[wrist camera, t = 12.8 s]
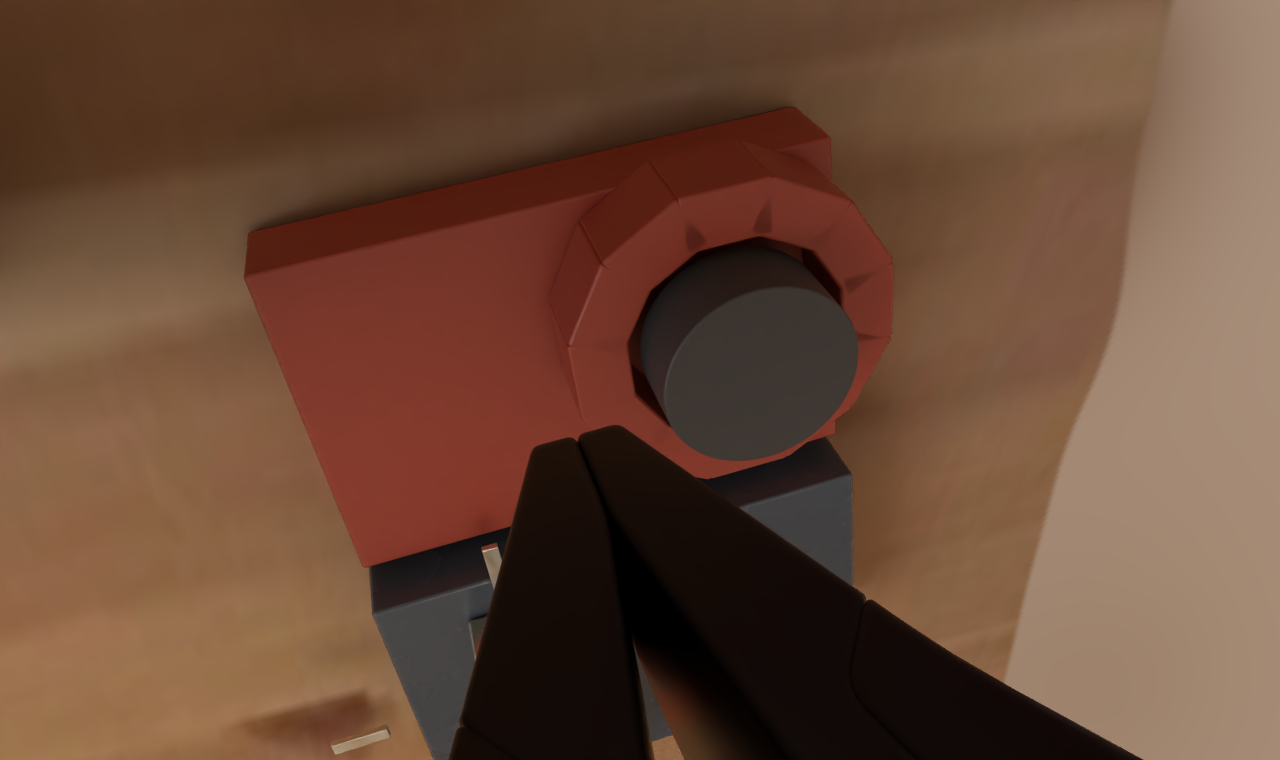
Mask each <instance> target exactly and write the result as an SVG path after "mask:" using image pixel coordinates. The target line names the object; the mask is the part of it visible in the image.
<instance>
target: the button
mask: <svg viewBox="0 0 1280 760" xmlns="http://www.w3.org/2000/svg"><path fill="white" fill-rule="evenodd" d="M858 353H859V352H858V340H857V336H856V332H855V329H854V326H853V324H852V321H851V320H850V318H849V317H848V315H847V313H846V312H845V311H844V310H843V308H842V307H841V306H840V305H839V304H838V303H837V302H836V300H835V299H834V298H833V297H832V296H831V295H830V294H829V293H828V291H827V290H826V289H825V288H824V287H823V286H822V285H821V283H820V282H819V281H818V280H817V279H816V278H815V277H814V276H813V274H812V273H811V272H810V271H809V270H808V269H807V268H806V267H805V266H804V265H803V264H802V263H801V262H799V261H798V260H797V259H796V258H794V257H792V256H790V255H788V254H786V253H784V252H781V251H778V250H776V249H771V248H766V247H757V246H745V247H735V248H730V249H725V250H722V251H719V252H716V253H713V254H710V255H708V256H706V257H704V258H701V259H700V260H698V261H696V262H694V263H693V264H691V265H689V266H688V267H687V268H685V269H684V270H683V271H681V272H680V273H679V274H677V275H676V276H675V277H674V278H673V279H672V280H671V281H670V282H669V283H668V284H667V285H666V286H665V288H664V289H663V290H662V291H661V292H660V294H659V295H658V297H657V298H656V300H655V301H654V303H653V304H652V306H651V308H650V310H649V312H648V314H647V317H646V320H645V322H644V325H643V330H642V334H641V341H640V356H641V363H642V367H643V370H644V373H645V375H646V378H647V380H648V382H649V384H650V386H651V388H652V390H653V392H654V394H655V396H656V398H657V400H658V402H659V404H660V406H661V408H662V410H663V412H664V414H665V416H666V418H667V420H668V422H669V423H670V425H671V427H672V428H673V430H674V432H675V433H676V434H677V436H678V437H679V438H680V439H681V440H682V441H683V442H684V443H685V444H687V445H688V446H689V447H690V448H692V449H694V450H696V451H697V452H699V453H701V454H704V455H706V456H709V457H712V458H716V459H720V460H728V461H748V460H756V459H761V458H765V457H769V456H772V455H775V454H778V453H781V452H783V451H785V450H787V449H790V448H792V447H794V446H795V445H797V444H799V443H801V442H802V441H804V440H805V439H807V438H808V437H810V436H811V435H813V434H814V433H815V432H816V431H817V430H819V429H820V428H821V427H822V426H823V425H824V424H825V423H826V422H827V421H828V420H829V419H830V418H831V417H832V416H833V415H834V413H835V412H836V411H837V410H838V408H839V407H840V405H841V404H842V402H843V401H844V399H845V398H846V396H847V394H848V392H849V390H850V388H851V386H852V383H853V380H854V377H855V374H856V369H857V365H858Z"/></svg>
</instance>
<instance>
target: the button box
mask: <svg viewBox="0 0 1280 760" xmlns="http://www.w3.org/2000/svg"><path fill="white" fill-rule="evenodd" d="M745 246H757V247H766V248H771V249H776V250H778V251H781V252H784V253H786V254H788V255H790V256H792V257H794V258H796V259H797V260H798V261H799V262H801V263H802V264H803V265H804V266H805V267H806V268H807V269H808V270H809V271H810V272H811V273H812V274H813V276H814V277H815V278H816V279H817V280H818V281H819V282H820V283H821V285H822V286H823V287H824V288H825V289H826V290H827V291H828V293H829V294H830V295H831V296H832V297H833V298H834V299H835V300H836V302H837V303H838V304H839V305H840V306H841V307H842V308H843V310H844V311H845V312H846V313H847V315H848V317H849V318H850V320H851V321H852V324H853V326H854V329H855V332H856V336H857V340H858V352H859V353H858V365H857V369H856V374H855V377H854V380H853V383H852V386H851V388H850V390H849V392H848V394H847V396H846V398H845V399H844V401H843V402H842V404H841V405H840V407H839V408H838V410H837V411H836V412H835V413H834V415H833V416H832V417H831V418H830V419H829V420H828V421H827V422H826V423H825V424H824V425H823V426H822V427H821V428H820V429H819V430H817V431H816V432H815V433H814V434H813V435H811V436H810V437H808V438H807V439H805V440H804V441H802V442H801V443H799V444H797V445H795V446H794V447H792V448H790V449H787V450H785V451H783V452H781V453H778V454H775V455H772V456H769V457H765V458H761V459H756V460H748V461H728V460H720V459H716V458H712V457H709V456H706V455H704V454H701V453H699V452H697V451H696V450H694V449H692V448H690V447H689V446H688V445H687V444H685V443H684V442H683V441H682V440H681V439H680V438H679V437H678V436H677V434H676V433H675V432H674V430H673V428H672V427H671V425H670V423H669V422H668V420H667V418H666V416H665V414H664V412H663V410H662V408H661V406H660V404H659V402H658V400H657V398H656V396H655V394H654V392H653V390H652V388H651V386H650V384H649V382H648V380H647V378H646V375H645V373H644V370H643V367H642V363H641V356H640V341H641V334H642V330H643V325H644V322H645V320H646V317H647V314H648V312H649V310H650V308H651V306H652V304H653V303H654V301H655V300H656V298H657V297H658V295H659V294H660V292H661V291H662V290H663V289H664V288H665V286H666V285H667V284H668V283H669V282H670V281H671V280H672V279H673V278H674V277H675V276H676V275H677V274H679V273H680V272H681V271H683V270H684V269H685V268H687V267H688V266H689V265H691V264H693V263H694V262H696V261H698V260H700V259H701V258H704V257H706V256H708V255H710V254H713V253H716V252H719V251H722V250H725V249H730V248H735V247H745ZM893 273H894V264H893V262H892V257H891V256H890V254H889V253H888V251H887V250H886V248H885V247H884V246H883V244H882V243H881V241H880V240H879V238H878V237H877V235H876V234H875V233H874V231H873V230H872V228H871V227H870V225H869V224H868V223H867V221H866V220H865V218H864V217H863V215H862V214H861V212H860V211H859V210H858V208H857V207H856V205H855V204H854V202H853V201H852V200H850V199H849V198H848V197H847V196H846V195H845V194H844V193H843V192H842V191H841V190H840V189H838V188H837V187H836V186H835V185H834V184H833V183H832V182H831V138H830V136H829V135H828V134H826V133H825V132H824V131H823V130H822V129H820V128H819V127H818V126H817V125H816V124H814V123H813V122H812V121H811V120H810V119H808V118H807V117H806V116H805V115H804V114H802V113H801V112H800V111H799V110H798V109H796V108H795V107H789V108H785V109H781V110H776V111H772V112H768V113H763V114H759V115H755V116H751V117H746V118H742V119H738V120H733V121H729V122H725V123H720V124H716V125H712V126H707V127H703V128H699V129H694V130H690V131H686V132H682V133H677V134H673V135H669V136H664V137H660V138H656V139H651V140H647V141H643V142H638V143H634V144H630V145H625V146H621V147H617V148H613V149H608V150H604V151H600V152H595V153H591V154H587V155H582V156H578V157H574V158H569V159H565V160H561V161H556V162H552V163H548V164H543V165H539V166H535V167H531V168H526V169H522V170H518V171H513V172H509V173H505V174H500V175H496V176H492V177H487V178H483V179H479V180H474V181H470V182H466V183H462V184H457V185H453V186H449V187H444V188H440V189H436V190H431V191H427V192H423V193H418V194H414V195H410V196H405V197H401V198H397V199H393V200H388V201H384V202H380V203H375V204H371V205H367V206H362V207H358V208H354V209H349V210H345V211H341V212H336V213H332V214H328V215H323V216H319V217H315V218H311V219H306V220H302V221H298V222H293V223H289V224H285V225H280V226H276V227H272V228H267V229H263V230H259V231H254V232H251V233H249V234H248V242H247V252H246V262H245V272H244V280H245V282H246V285H247V287H248V289H249V292H250V294H251V297H252V299H253V302H254V304H255V306H256V309H257V311H258V314H259V316H260V318H261V321H262V323H263V326H264V328H265V331H266V333H267V335H268V338H269V340H270V343H271V345H272V348H273V350H274V352H275V355H276V357H277V360H278V362H279V365H280V367H281V369H282V372H283V374H284V377H285V379H286V382H287V384H288V386H289V389H290V391H291V394H292V396H293V399H294V401H295V403H296V406H297V408H298V411H299V413H300V416H301V418H302V420H303V423H304V425H305V428H306V430H307V433H308V435H309V437H310V440H311V442H312V445H313V447H314V450H315V452H316V454H317V457H318V459H319V462H320V464H321V467H322V469H323V471H324V474H325V476H326V479H327V481H328V484H329V486H330V488H331V491H332V493H333V496H334V498H335V501H336V503H337V505H338V508H339V510H340V513H341V515H342V518H343V520H344V522H345V525H346V527H347V530H348V532H349V535H350V537H351V539H352V542H353V544H354V547H355V549H356V551H357V554H358V556H359V559H360V561H361V564H362V566H363V567H369V566H373V565H376V564H380V563H383V562H387V561H391V560H394V559H398V558H401V557H405V556H408V555H412V554H415V553H419V552H422V551H426V550H429V549H433V548H436V547H440V546H443V545H447V544H450V543H454V542H457V541H461V540H464V539H468V538H471V537H475V536H478V535H482V534H485V533H489V532H492V531H496V530H499V529H503V528H507V527H510V526H511V525H512V521H513V517H514V513H515V510H516V506H517V502H518V498H519V495H520V491H521V487H522V483H523V480H524V476H525V472H526V468H527V465H528V461H529V457H530V454H531V451H532V450H533V448H534V447H536V446H538V445H541V444H545V443H548V442H552V441H556V440H559V439H563V438H567V437H571V438H574V439H575V440H576V441H577V442H578V437H579V436H580V435H581V434H582V433H585V432H588V431H592V430H596V429H599V428H603V427H607V426H610V425H620V426H623V427H624V428H626V429H627V430H628V431H630V432H631V433H633V434H634V435H636V436H637V437H639V438H640V439H641V440H643V441H644V442H646V443H647V444H649V445H650V446H651V447H653V448H654V449H656V450H657V451H659V452H660V453H662V454H663V455H664V456H666V457H667V458H669V459H670V460H672V461H673V462H674V463H676V464H677V465H679V466H680V467H682V468H683V469H685V470H686V471H687V472H689V473H690V474H692V475H693V476H695V477H698V478H704V479H709V478H715V477H719V476H722V475H726V474H729V473H733V472H736V471H740V470H743V469H747V468H750V467H754V466H757V465H761V464H764V463H768V462H771V461H775V460H778V459H782V458H785V457H786V456H789V455H791V454H792V453H793V452H795V451H796V450H797V449H799V448H800V447H801V446H802V445H804V444H805V443H806V442H809V441H812V440H816V439H819V438H823V437H826V436H830V435H833V434H835V420H836V419H837V418H839V417H840V416H841V415H843V414H844V413H845V412H846V411H848V410H849V409H850V408H851V407H852V406H851V405H853V404H854V403H855V401H856V400H857V398H858V396H859V394H860V392H861V391H862V389H863V387H864V385H865V384H866V382H867V380H868V378H869V377H870V375H871V373H872V371H873V370H874V368H875V366H876V364H877V363H878V361H879V359H880V357H881V356H882V354H883V352H884V350H885V348H886V347H887V345H888V343H889V341H890V340H891V335H892V313H893Z"/></svg>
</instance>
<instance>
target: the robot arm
mask: <svg viewBox="0 0 1280 760" xmlns="http://www.w3.org/2000/svg"><path fill="white" fill-rule="evenodd" d="M634 647H635V649H634ZM635 650H636V653H637V655H638V658H639V661H640V663H641V665H642V668H643V670H644V672H645V675H646V677H647V679H648V682H649V684H650V686H651V688H652V690H653V692H654V695H655V697H656V699H657V701H658V703H659V705H660V708H661V710H662V712H663V714H664V716H665V718H666V720H667V723H668V725H669V727H670V729H671V731H672V733H673V736H674V738H675V740H676V742H677V744H678V746H679V749H680V751H681V753H682V755H683V757H684V759H685V760H1143V759H1141V758H1139V757H1137V756H1135V755H1134V754H1132V753H1130V752H1128V751H1126V750H1124V749H1123V748H1121V747H1119V746H1117V745H1115V744H1113V743H1112V742H1110V741H1108V740H1106V739H1104V738H1102V737H1101V736H1099V735H1097V734H1095V733H1093V732H1091V731H1090V730H1088V729H1086V728H1084V727H1082V726H1080V725H1079V724H1077V723H1075V722H1073V721H1071V720H1069V719H1068V718H1066V717H1064V716H1062V715H1060V714H1059V713H1057V712H1054V711H1053V710H1051V709H1049V708H1048V707H1046V706H1044V705H1042V704H1040V703H1038V702H1036V701H1035V700H1033V699H1031V698H1029V697H1027V696H1025V695H1024V694H1022V693H1020V692H1018V691H1016V690H1015V689H1012V688H1011V687H1009V686H1007V685H1006V684H1004V683H1002V682H1001V681H999V680H997V679H996V678H994V677H992V676H990V675H989V674H987V673H985V672H983V671H982V670H980V669H978V668H977V667H975V666H973V665H971V664H970V663H968V662H966V661H964V660H963V659H961V658H959V657H958V656H956V655H954V654H952V653H951V652H949V651H948V650H946V649H945V648H943V647H942V646H940V645H939V644H937V643H936V642H934V641H933V640H931V639H930V638H928V637H926V636H925V635H923V634H922V633H920V632H919V631H917V630H916V629H914V628H913V627H911V626H910V625H908V624H907V623H905V622H904V621H902V620H901V619H899V618H898V617H896V616H895V615H893V614H892V613H891V612H889V611H888V610H886V609H885V608H883V607H882V606H881V605H879V604H878V603H876V602H875V601H873V600H867V601H866V597H865V595H864V594H863V593H861V592H860V591H858V590H857V589H856V588H854V587H853V586H851V585H850V584H848V583H847V582H846V581H844V580H843V579H841V578H840V577H838V576H837V575H835V574H834V573H833V572H831V571H830V570H828V569H827V568H825V567H824V566H823V565H821V564H820V563H818V562H817V561H815V560H814V559H812V558H811V557H810V556H808V555H807V554H805V553H804V552H802V551H801V550H800V549H798V548H797V547H795V546H794V545H792V544H791V543H789V542H788V541H787V540H785V539H784V538H782V537H781V536H779V535H778V534H777V533H775V532H774V531H772V530H771V529H769V528H768V527H766V526H765V525H764V524H762V523H761V522H759V521H758V520H756V519H755V518H754V517H752V516H751V515H749V514H748V513H746V512H745V511H743V510H742V509H741V508H739V507H738V506H736V505H735V504H733V503H732V502H731V501H729V500H728V499H726V498H725V497H723V496H722V495H720V494H719V493H718V492H716V491H715V490H713V489H712V488H710V487H709V486H708V485H706V484H705V483H703V482H702V481H700V480H699V479H697V478H696V477H695V476H693V475H692V474H690V473H689V472H687V471H686V470H685V469H683V468H682V467H680V466H679V465H677V464H676V463H674V462H673V461H672V460H670V459H669V458H667V457H666V456H664V455H663V454H662V453H660V452H659V451H657V450H656V449H654V448H653V447H651V446H650V445H649V444H647V443H646V442H644V441H643V440H641V439H640V438H639V437H637V436H636V435H634V434H633V433H631V432H630V431H628V430H627V429H626V428H624V427H623V426H620V425H610V426H607V427H603V428H599V429H596V430H592V431H588V432H585V433H582V434H581V435H580V436H579V437H578V442H577V441H576V440H575V439H574V438H571V437H567V438H563V439H559V440H556V441H552V442H548V443H545V444H541V445H538V446H536V447H534V448H533V450H532V451H531V454H530V457H529V461H528V465H527V468H526V472H525V476H524V480H523V483H522V487H521V491H520V495H519V498H518V502H517V506H516V510H515V513H514V517H513V521H512V525H511V528H510V532H509V536H508V540H507V543H506V547H505V551H504V555H503V558H502V562H501V566H500V570H499V573H498V577H497V581H496V585H495V588H494V592H493V596H492V600H491V603H490V607H489V611H488V615H487V618H486V622H485V626H484V630H483V633H482V637H481V641H480V645H479V648H478V652H477V656H476V660H475V663H474V667H473V671H472V675H471V678H470V682H469V686H468V690H467V693H466V697H465V701H464V705H463V708H462V712H461V716H460V720H459V724H460V727H459V728H458V729H457V730H456V733H455V737H454V740H453V744H452V748H451V751H450V755H449V759H448V760H655V759H654V753H653V747H652V742H651V736H650V730H649V724H648V719H647V713H646V707H645V701H644V696H643V690H642V684H641V679H640V674H639V669H638V664H637V659H636V654H635Z"/></svg>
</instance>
